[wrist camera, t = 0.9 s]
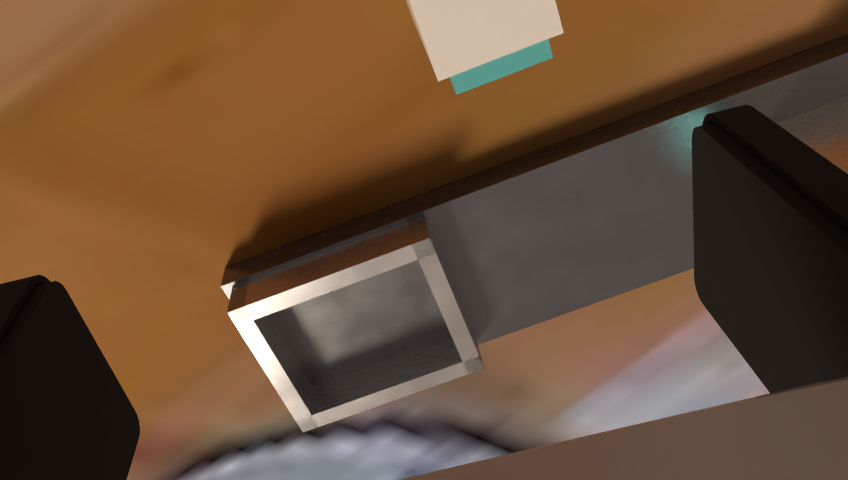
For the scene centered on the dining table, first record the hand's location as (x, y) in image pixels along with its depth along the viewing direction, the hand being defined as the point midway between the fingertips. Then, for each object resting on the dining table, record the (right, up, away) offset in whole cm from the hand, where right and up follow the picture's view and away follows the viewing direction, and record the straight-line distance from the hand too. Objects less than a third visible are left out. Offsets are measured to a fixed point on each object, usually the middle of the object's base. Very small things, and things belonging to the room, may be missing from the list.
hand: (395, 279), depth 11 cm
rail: (+8, +2, +24) cm, 25 cm away
